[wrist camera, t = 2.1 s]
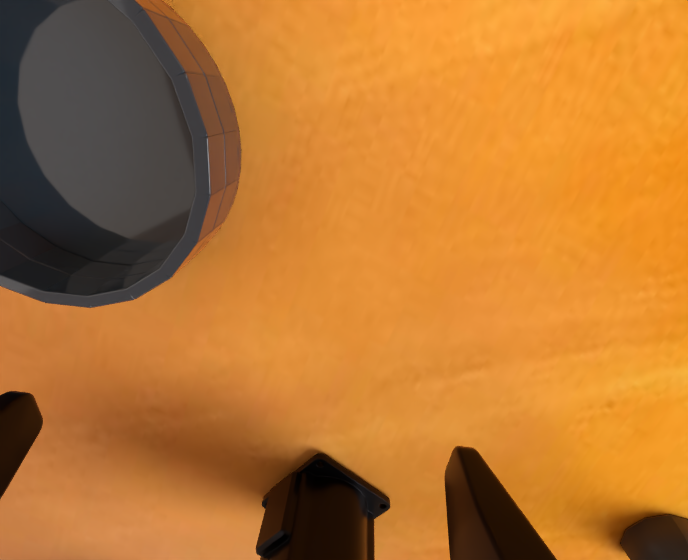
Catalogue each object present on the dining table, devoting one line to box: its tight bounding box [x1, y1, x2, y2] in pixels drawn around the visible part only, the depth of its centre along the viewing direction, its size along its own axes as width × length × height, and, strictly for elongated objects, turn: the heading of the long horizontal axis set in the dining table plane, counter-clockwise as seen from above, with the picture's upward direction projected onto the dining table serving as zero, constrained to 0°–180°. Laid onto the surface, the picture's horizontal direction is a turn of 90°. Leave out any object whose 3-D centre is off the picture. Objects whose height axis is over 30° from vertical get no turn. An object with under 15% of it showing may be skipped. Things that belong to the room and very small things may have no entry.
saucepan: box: [0, 0, 241, 308], centre depth 16 cm, size 13×13×4 cm
